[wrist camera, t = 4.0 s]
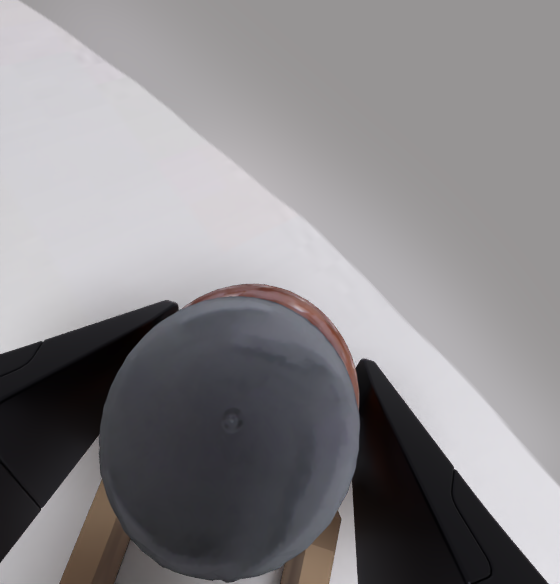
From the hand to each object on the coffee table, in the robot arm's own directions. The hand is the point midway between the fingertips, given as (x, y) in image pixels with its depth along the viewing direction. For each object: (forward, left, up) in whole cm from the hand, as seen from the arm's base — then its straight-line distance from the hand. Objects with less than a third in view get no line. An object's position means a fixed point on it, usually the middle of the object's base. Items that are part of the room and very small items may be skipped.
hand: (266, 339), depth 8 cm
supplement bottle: (-1, +1, -7) cm, 7 cm away
